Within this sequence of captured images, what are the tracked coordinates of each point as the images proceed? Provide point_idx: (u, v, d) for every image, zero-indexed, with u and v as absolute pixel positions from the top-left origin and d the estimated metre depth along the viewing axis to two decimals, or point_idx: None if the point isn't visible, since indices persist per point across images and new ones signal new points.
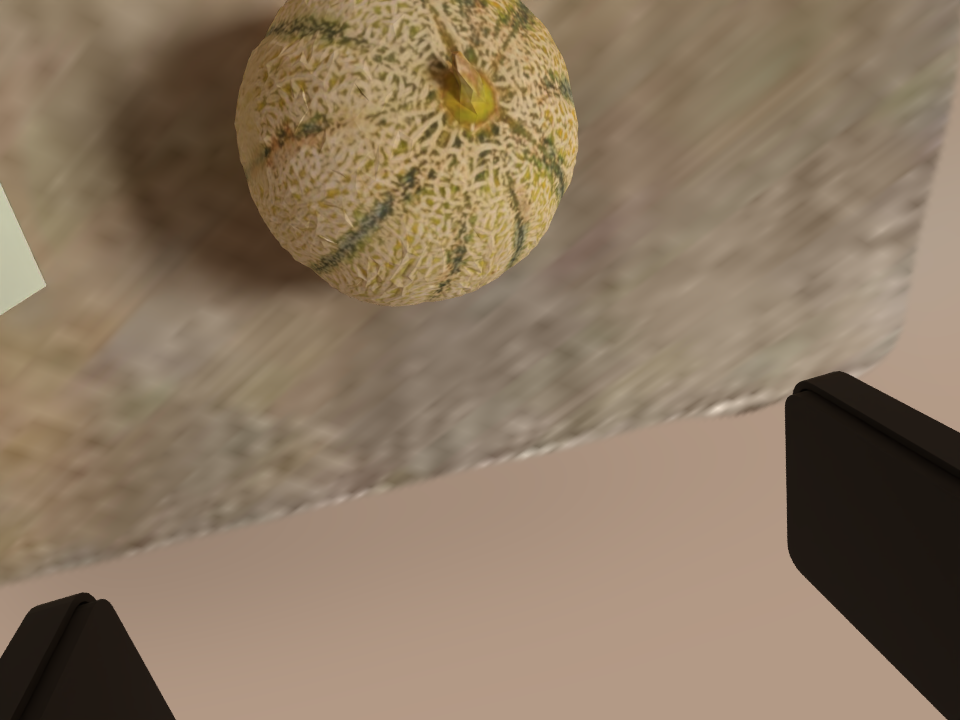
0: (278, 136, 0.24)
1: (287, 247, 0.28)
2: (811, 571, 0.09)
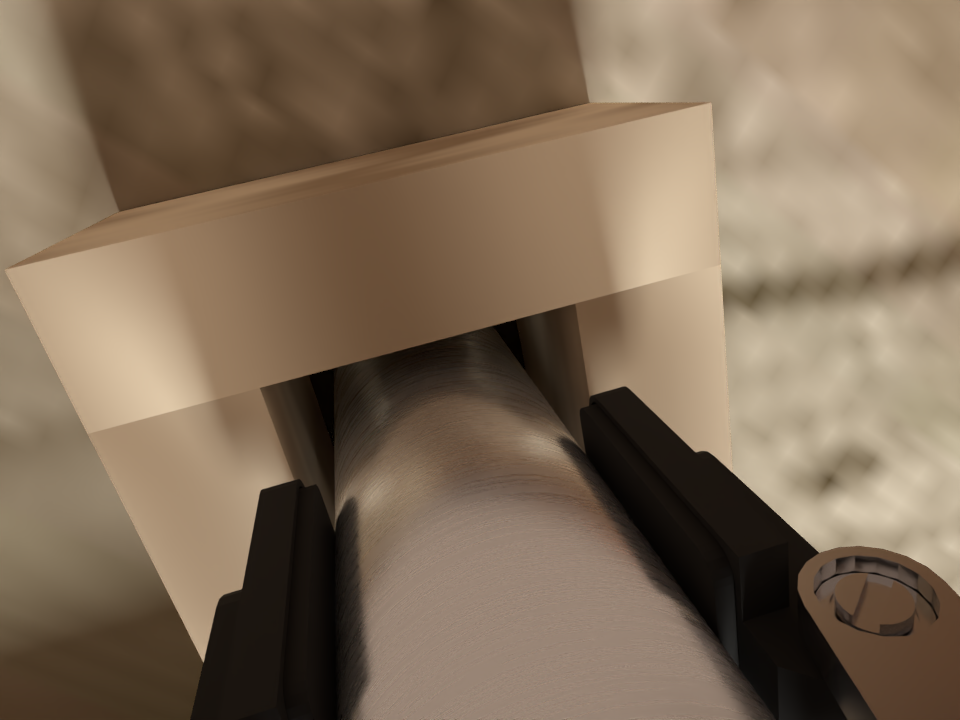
0: None
1: None
2: None
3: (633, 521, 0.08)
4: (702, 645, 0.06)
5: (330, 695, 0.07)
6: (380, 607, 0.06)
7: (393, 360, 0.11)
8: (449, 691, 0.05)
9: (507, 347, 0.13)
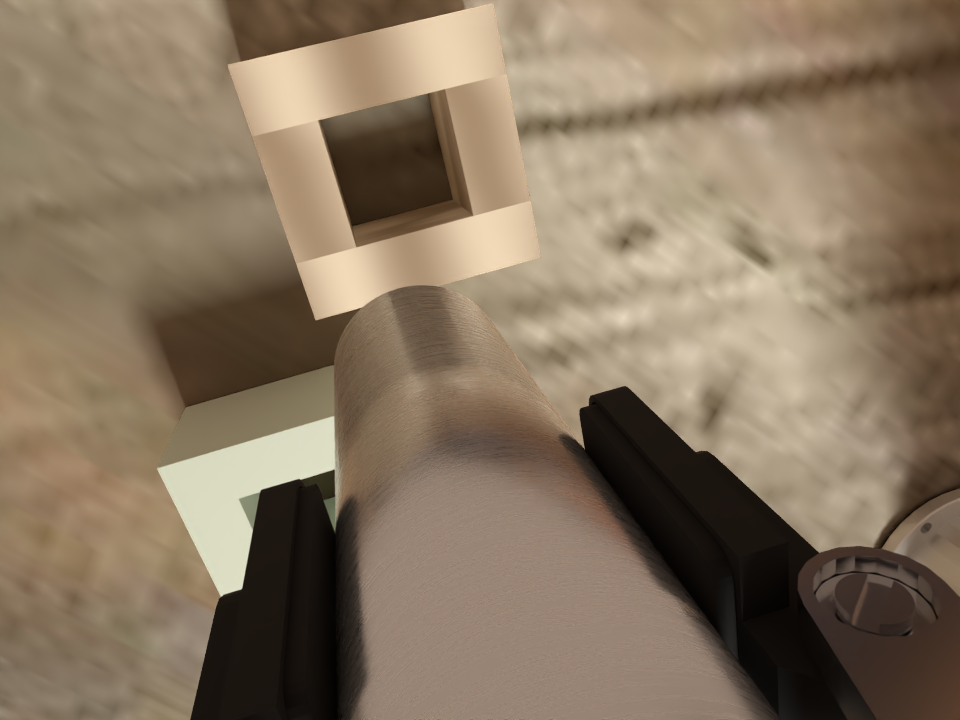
0: None
1: None
2: None
3: (634, 518, 0.08)
4: (704, 640, 0.06)
5: (330, 695, 0.07)
6: (381, 603, 0.06)
7: (393, 357, 0.11)
8: (451, 685, 0.05)
9: (507, 345, 0.13)
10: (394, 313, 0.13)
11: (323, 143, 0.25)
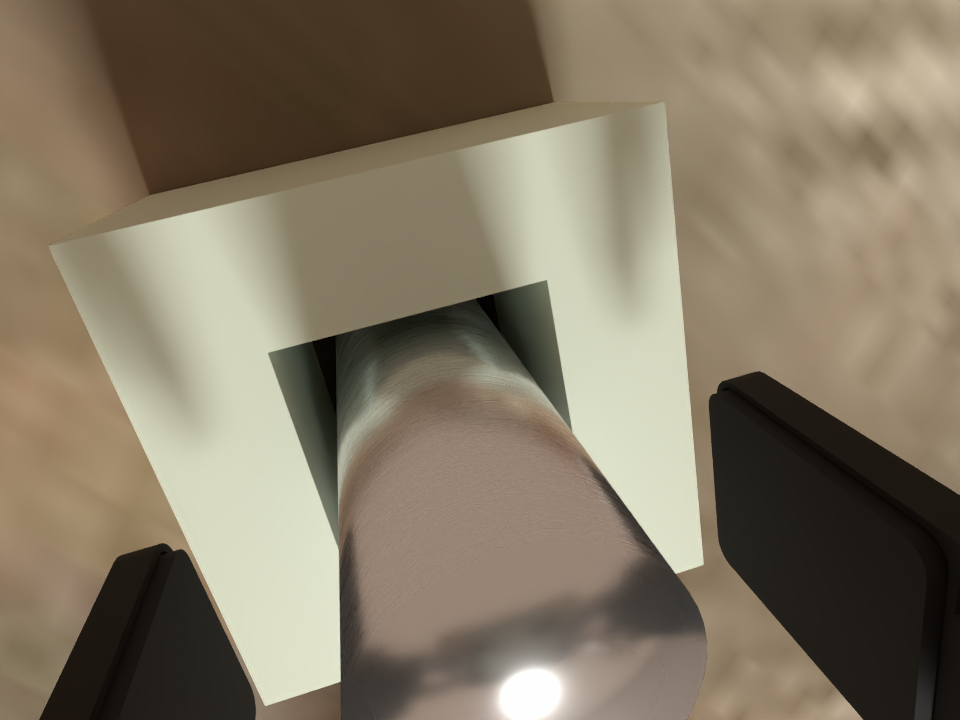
0: None
1: None
2: (737, 563, 0.10)
3: None
4: (599, 487, 0.08)
5: None
6: (371, 475, 0.09)
7: None
8: (417, 507, 0.07)
9: (484, 312, 0.16)
10: None
11: None
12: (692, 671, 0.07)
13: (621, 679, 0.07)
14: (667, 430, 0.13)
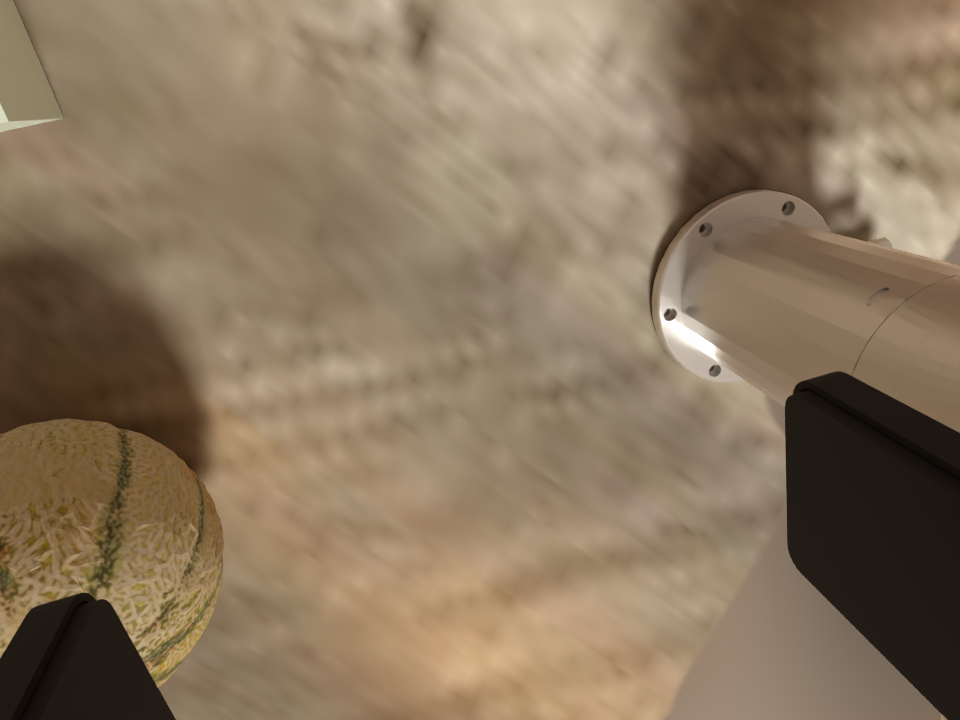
0: None
1: None
2: (811, 571, 0.09)
3: None
4: None
5: None
6: None
7: None
8: None
9: None
10: None
11: None
12: None
13: None
14: None
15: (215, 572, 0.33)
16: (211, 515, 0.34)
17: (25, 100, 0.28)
